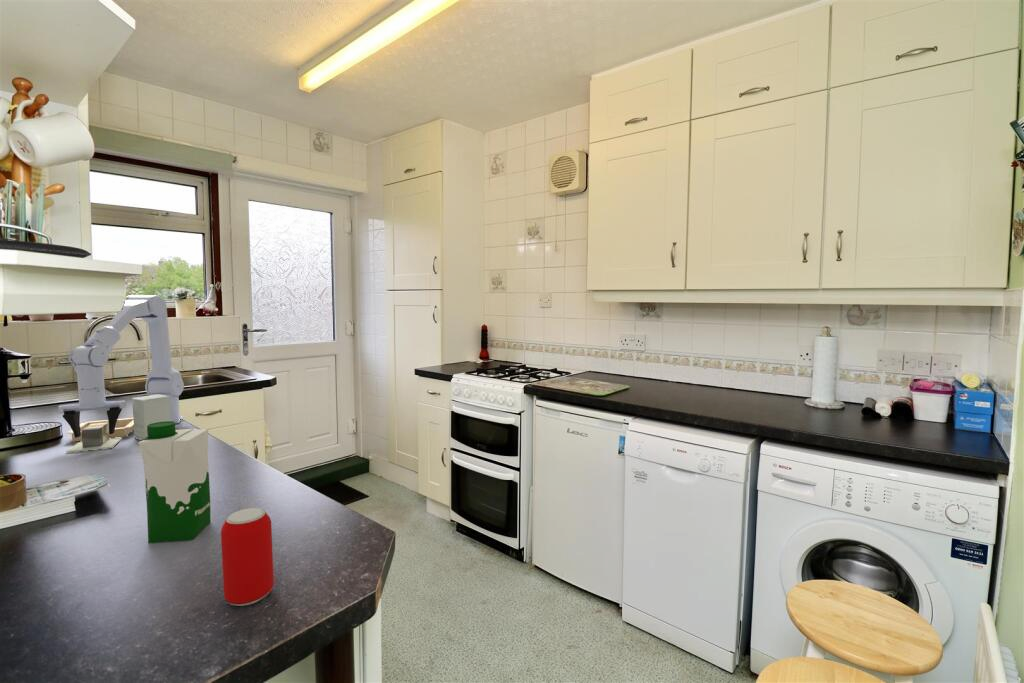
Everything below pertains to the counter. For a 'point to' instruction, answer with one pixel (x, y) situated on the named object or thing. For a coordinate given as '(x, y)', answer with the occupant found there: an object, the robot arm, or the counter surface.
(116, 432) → the wooden tray
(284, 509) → the counter surface
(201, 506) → the milk carton
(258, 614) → the counter surface
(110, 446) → the tile
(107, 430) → the block
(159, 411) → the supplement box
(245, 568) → the beverage can
